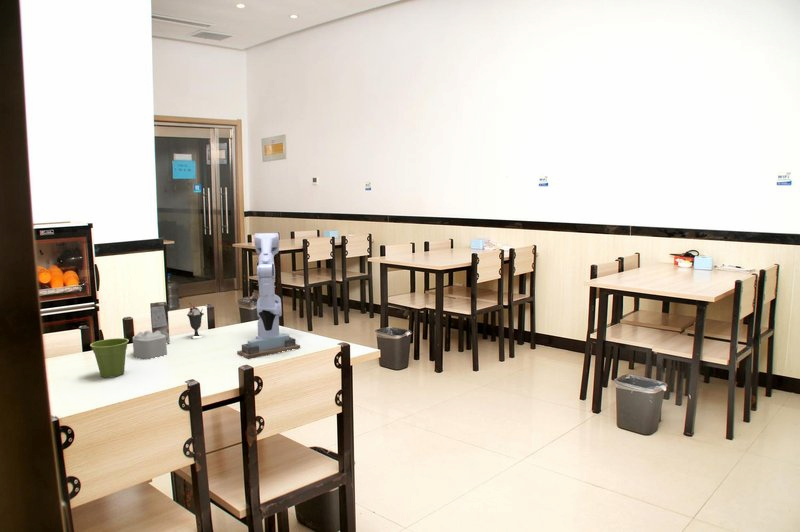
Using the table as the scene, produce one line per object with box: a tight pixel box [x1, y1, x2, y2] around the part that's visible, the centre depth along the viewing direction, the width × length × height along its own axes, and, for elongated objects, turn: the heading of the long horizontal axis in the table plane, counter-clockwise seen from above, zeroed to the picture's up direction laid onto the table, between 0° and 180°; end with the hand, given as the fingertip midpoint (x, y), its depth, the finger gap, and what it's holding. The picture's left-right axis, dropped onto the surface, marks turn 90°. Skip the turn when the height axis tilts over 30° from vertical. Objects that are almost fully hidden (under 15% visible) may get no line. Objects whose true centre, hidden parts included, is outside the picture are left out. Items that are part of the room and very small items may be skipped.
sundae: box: [186, 302, 205, 336], centre depth 255 cm, size 7×7×15 cm
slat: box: [247, 333, 290, 351], centre depth 232 cm, size 3×16×4 cm, turn 130°
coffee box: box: [149, 301, 171, 343], centre depth 248 cm, size 9×6×16 cm
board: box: [236, 336, 301, 360], centre depth 232 cm, size 9×22×4 cm, turn 130°
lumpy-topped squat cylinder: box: [132, 330, 168, 360], centre depth 230 cm, size 10×13×9 cm
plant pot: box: [89, 337, 130, 378], centre depth 205 cm, size 12×12×11 cm
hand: (268, 330), depth 232 cm, fingers closed
